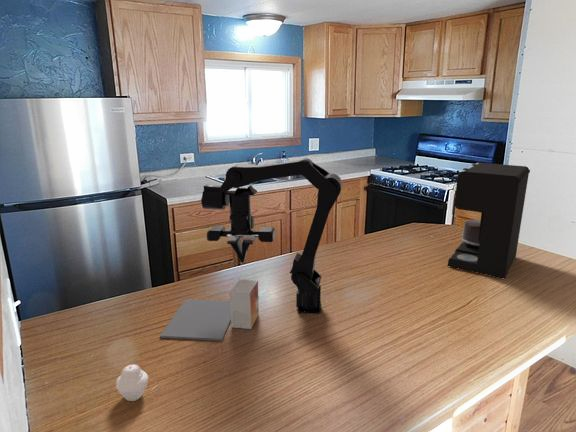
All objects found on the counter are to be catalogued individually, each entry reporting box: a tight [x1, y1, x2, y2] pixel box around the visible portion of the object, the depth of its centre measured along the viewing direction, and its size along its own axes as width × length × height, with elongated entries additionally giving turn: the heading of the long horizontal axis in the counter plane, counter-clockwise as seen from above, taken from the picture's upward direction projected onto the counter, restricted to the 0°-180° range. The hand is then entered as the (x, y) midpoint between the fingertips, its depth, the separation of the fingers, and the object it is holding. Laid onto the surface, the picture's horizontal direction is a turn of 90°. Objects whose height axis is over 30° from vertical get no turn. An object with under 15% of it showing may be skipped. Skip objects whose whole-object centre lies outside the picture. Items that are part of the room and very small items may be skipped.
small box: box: [229, 279, 260, 330], centre depth 111 cm, size 8×6×10 cm
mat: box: [159, 298, 231, 342], centre depth 113 cm, size 16×20×1 cm
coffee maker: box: [447, 162, 531, 280], centre depth 149 cm, size 28×20×35 cm
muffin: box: [115, 364, 149, 402], centre depth 83 cm, size 6×6×7 cm
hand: (242, 262), depth 119 cm, fingers closed
